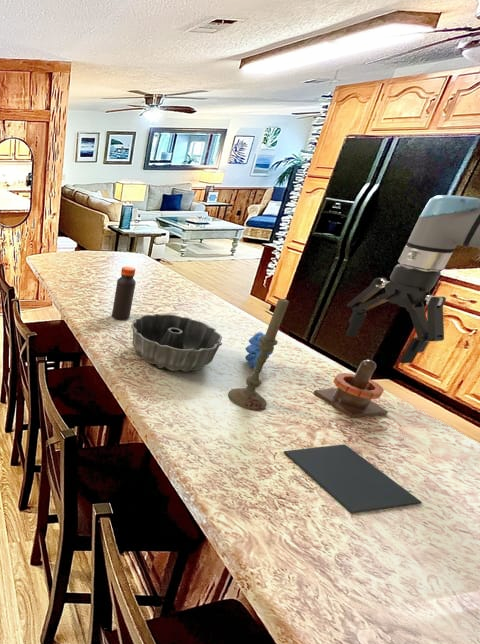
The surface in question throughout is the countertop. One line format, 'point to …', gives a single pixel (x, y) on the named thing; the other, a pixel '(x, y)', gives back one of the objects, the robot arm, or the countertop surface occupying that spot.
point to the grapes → (254, 349)
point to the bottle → (124, 294)
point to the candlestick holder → (260, 364)
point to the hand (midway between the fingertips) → (376, 348)
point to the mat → (351, 478)
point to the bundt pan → (175, 341)
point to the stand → (352, 403)
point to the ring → (369, 394)
